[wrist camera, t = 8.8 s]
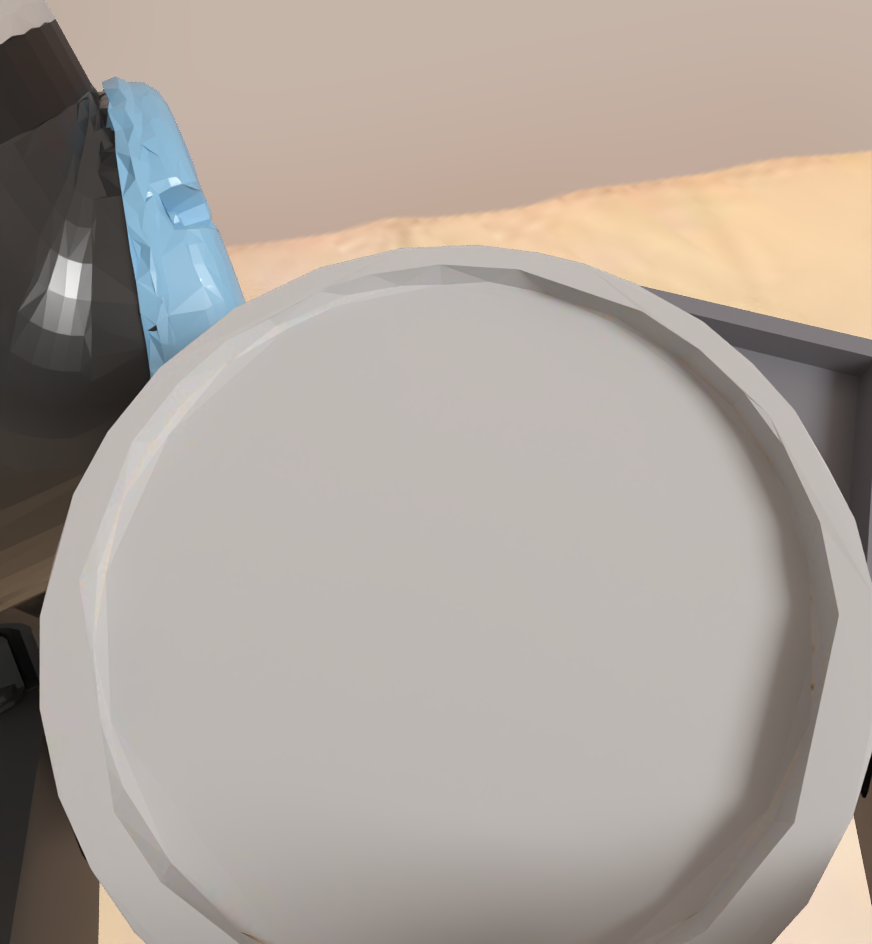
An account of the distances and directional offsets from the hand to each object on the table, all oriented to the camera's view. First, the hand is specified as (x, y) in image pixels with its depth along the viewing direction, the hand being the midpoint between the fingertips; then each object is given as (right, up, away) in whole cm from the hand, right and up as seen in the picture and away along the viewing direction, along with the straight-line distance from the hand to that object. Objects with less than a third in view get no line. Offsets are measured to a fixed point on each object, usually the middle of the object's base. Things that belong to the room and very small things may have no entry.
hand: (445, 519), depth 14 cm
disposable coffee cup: (0, -5, +3) cm, 6 cm away
